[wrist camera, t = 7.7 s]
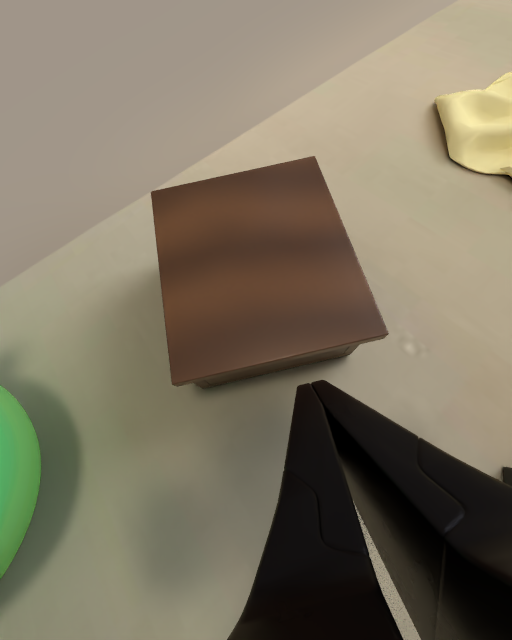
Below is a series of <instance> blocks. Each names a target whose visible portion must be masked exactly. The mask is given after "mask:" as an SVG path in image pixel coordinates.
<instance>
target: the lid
mask: <svg viewBox="0 0 512 640" xmlns="http://www.w3.org/2000/svg"><path fill="white" fill-rule="evenodd" d="M151 198H152V207H153V216H154V225H155V234H156V243H157V253H158V262H159V271H160V280H161V289H162V298H163V307H164V317H165V326H166V335H167V344H168V353H169V362H170V371H171V381H172V385H175V386H177V387H178V386H182V385H186V384H190V383H195V382H199V381H203V380H208V379H212V378H216V377H221V376H225V375H229V374H233V373H238V372H242V371H246V370H251V369H255V368H259V367H264V366H268V365H272V364H276V363H281V362H285V361H289V360H294V359H298V358H302V357H307V356H311V355H315V354H319V353H324V352H328V351H332V350H337V349H341V348H345V347H350V346H354V345H358V344H362V343H367V342H371V341H375V340H380V339H383V338H385V337H386V336H387V335H388V331H387V328H386V326H385V324H384V321H383V319H382V316H381V314H380V312H379V309H378V307H377V304H376V302H375V300H374V297H373V295H372V292H371V290H370V288H369V285H368V283H367V280H366V278H365V276H364V273H363V271H362V268H361V266H360V264H359V261H358V259H357V256H356V254H355V252H354V249H353V247H352V244H351V242H350V240H349V237H348V235H347V232H346V230H345V228H344V225H343V223H342V220H341V218H340V216H339V213H338V211H337V208H336V206H335V204H334V201H333V199H332V196H331V194H330V192H329V189H328V187H327V184H326V182H325V180H324V177H323V175H322V172H321V170H320V168H319V165H318V163H317V160H316V158H315V156H313V157H308V158H303V159H299V160H294V161H290V162H285V163H280V164H276V165H271V166H267V167H262V168H257V169H253V170H248V171H243V172H239V173H234V174H230V175H225V176H220V177H216V178H211V179H207V180H202V181H197V182H193V183H188V184H184V185H179V186H174V187H170V188H165V189H161V190H156V191H152V192H151Z"/></svg>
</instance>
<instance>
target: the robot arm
mask: <svg viewBox="0 0 512 640" xmlns="http://www.w3.org/2000/svg"><path fill="white" fill-rule="evenodd" d="M353 501H354V503H355V505H356V507H357V510H358V512H359V514H360V516H361V518H362V520H363V522H364V524H365V526H366V528H367V530H368V532H369V534H370V536H371V538H372V540H373V542H374V544H375V546H376V548H377V550H378V552H379V554H380V556H381V558H382V561H383V563H384V565H385V567H386V569H387V571H388V573H389V575H390V577H391V579H392V581H393V583H394V585H395V587H396V589H397V591H398V593H399V595H400V597H401V599H402V601H403V603H404V605H405V607H406V609H407V612H408V614H409V616H410V618H411V620H412V622H413V624H414V626H415V628H416V630H417V632H418V634H419V636H420V638H421V640H512V486H510V485H507V484H505V483H503V482H501V481H499V480H497V479H495V478H493V477H491V476H489V475H487V474H485V473H483V472H481V471H480V470H478V469H476V468H474V467H472V466H470V465H468V464H466V463H464V462H462V461H460V460H458V459H456V458H455V457H453V456H451V455H449V454H448V453H446V452H444V451H442V450H441V449H439V448H437V447H435V446H434V445H432V444H430V443H429V442H427V441H425V440H424V439H422V438H419V439H418V436H417V435H415V434H413V433H412V432H410V431H408V430H407V429H405V428H403V427H402V426H400V425H398V424H397V423H395V422H393V421H392V420H390V419H388V418H387V417H385V416H383V415H382V414H380V413H378V412H377V411H375V410H373V409H372V408H370V407H368V406H367V405H365V404H363V403H362V402H360V401H358V400H357V399H355V398H353V397H352V396H350V395H348V394H347V393H345V392H343V391H342V390H340V389H338V388H337V387H335V386H333V385H332V384H330V383H328V382H327V381H325V380H320V381H316V382H312V383H311V384H309V383H307V384H303V385H299V386H298V387H297V391H296V397H295V404H294V410H293V416H292V422H291V428H290V435H289V441H288V447H287V453H286V459H285V466H284V471H283V477H282V483H281V488H280V493H279V498H278V503H277V507H276V510H275V514H274V518H273V521H272V525H271V528H270V531H269V535H268V538H267V541H266V544H265V547H264V551H263V554H262V557H261V560H260V564H259V567H258V570H257V573H256V577H255V580H254V583H253V586H252V589H251V592H250V595H249V597H248V600H247V603H246V605H245V608H244V610H243V612H242V615H241V617H240V619H239V621H238V622H237V624H236V626H235V628H234V629H233V631H232V632H231V634H230V636H229V637H228V639H227V640H403V638H402V636H401V633H400V631H399V629H398V627H397V624H396V622H395V620H394V618H393V616H392V613H391V611H390V609H389V607H388V605H387V602H386V600H385V598H384V596H383V593H382V591H381V588H380V585H379V583H378V580H377V577H376V574H375V571H374V568H373V565H372V562H371V559H370V557H369V552H368V548H367V545H366V542H365V539H364V535H363V532H362V529H361V526H360V522H359V519H358V516H357V513H356V509H355V506H354V503H353Z"/></svg>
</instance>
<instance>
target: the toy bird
mask: <svg viewBox="0 0 512 640" xmlns="http://www.w3.org/2000/svg"><path fill="white" fill-rule="evenodd" d="M40 478H41V454H40V447H39V443H38V439H37V435H36V432H35V429H34V427H33V425H32V422H31V420H30V419H29V417H28V415H27V413H26V412H25V410H24V409H23V407H22V406H21V405H20V403H19V402H18V401H17V400H16V399H15V398H14V397H13V396H12V395H11V394H10V393H9V392H8V391H7V390H6V389H5V388H4V387H2V386H1V385H0V579H1V578H2V576H3V575H4V573H5V572H6V570H7V568H8V567H9V565H10V563H11V562H12V560H13V558H14V556H15V555H16V553H17V551H18V549H19V547H20V545H21V543H22V541H23V539H24V536H25V534H26V532H27V529H28V527H29V524H30V521H31V518H32V515H33V512H34V509H35V505H36V501H37V497H38V492H39V486H40Z"/></svg>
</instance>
